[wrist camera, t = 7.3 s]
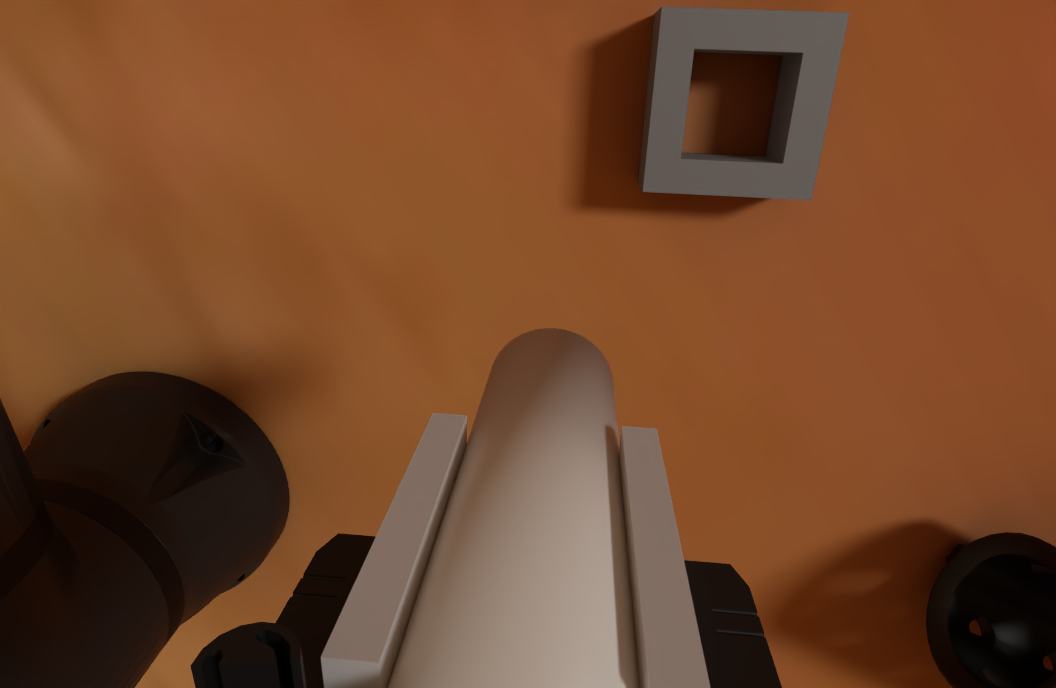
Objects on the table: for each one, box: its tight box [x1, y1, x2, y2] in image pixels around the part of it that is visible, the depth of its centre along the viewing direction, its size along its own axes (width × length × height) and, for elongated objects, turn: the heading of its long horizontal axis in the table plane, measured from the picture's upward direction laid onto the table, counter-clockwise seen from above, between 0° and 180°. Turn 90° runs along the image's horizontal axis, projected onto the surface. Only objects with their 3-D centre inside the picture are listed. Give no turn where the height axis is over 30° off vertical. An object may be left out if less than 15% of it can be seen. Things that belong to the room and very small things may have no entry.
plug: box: [387, 328, 639, 688], centre depth 13 cm, size 4×4×13 cm
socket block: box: [638, 7, 849, 200], centre depth 29 cm, size 7×7×3 cm
